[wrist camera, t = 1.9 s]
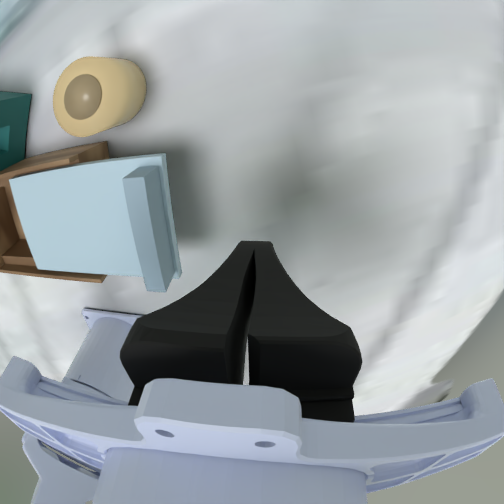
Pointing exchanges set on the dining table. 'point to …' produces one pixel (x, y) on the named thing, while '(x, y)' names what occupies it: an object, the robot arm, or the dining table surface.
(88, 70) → the tape roll
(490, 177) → the dining table surface
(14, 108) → the bracket
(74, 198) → the lid
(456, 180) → the dining table surface
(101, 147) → the pencil box
